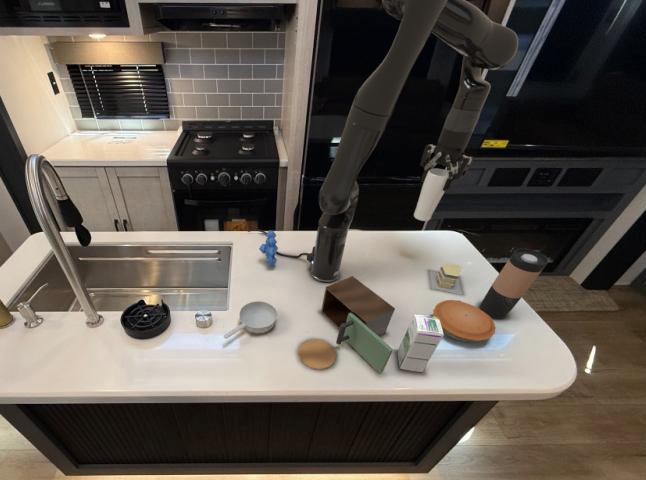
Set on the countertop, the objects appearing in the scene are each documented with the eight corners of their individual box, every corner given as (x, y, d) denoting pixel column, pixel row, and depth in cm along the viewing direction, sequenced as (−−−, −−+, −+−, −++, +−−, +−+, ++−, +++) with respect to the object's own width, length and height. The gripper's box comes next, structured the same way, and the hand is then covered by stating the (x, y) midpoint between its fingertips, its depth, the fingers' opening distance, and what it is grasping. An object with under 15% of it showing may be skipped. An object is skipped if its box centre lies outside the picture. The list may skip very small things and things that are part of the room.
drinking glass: (422, 224, 101) (442, 178, 91) (406, 215, 105) (423, 170, 95) (436, 219, 104) (457, 174, 93) (420, 211, 108) (438, 166, 98)
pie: (480, 358, 82) (489, 346, 79) (420, 328, 90) (427, 316, 86) (495, 326, 90) (504, 314, 87) (440, 301, 98) (446, 289, 95)
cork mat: (291, 349, 84) (291, 348, 84) (319, 335, 88) (319, 334, 88) (313, 375, 78) (314, 374, 78) (343, 359, 82) (343, 358, 82)
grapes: (258, 253, 118) (258, 224, 110) (276, 252, 118) (277, 224, 110) (259, 272, 110) (259, 242, 102) (278, 271, 110) (280, 242, 102)
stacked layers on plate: (461, 294, 101) (469, 281, 97) (431, 288, 103) (438, 275, 99) (457, 276, 108) (465, 263, 104) (429, 271, 110) (435, 258, 106)
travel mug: (507, 308, 96) (548, 253, 82) (506, 323, 91) (549, 268, 78) (479, 299, 99) (514, 245, 85) (476, 313, 94) (513, 258, 81)
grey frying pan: (284, 322, 92) (285, 313, 89) (238, 357, 82) (238, 348, 80) (258, 304, 97) (258, 295, 95) (212, 335, 88) (211, 326, 85)
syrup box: (423, 373, 79) (446, 334, 69) (398, 369, 80) (418, 330, 70) (419, 355, 83) (440, 316, 73) (395, 351, 84) (413, 313, 74)
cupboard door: (330, 342, 85) (336, 319, 79) (344, 335, 87) (351, 312, 81) (368, 380, 76) (378, 358, 70) (383, 372, 78) (393, 349, 72)
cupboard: (320, 312, 95) (325, 286, 88) (345, 300, 99) (352, 275, 92) (358, 348, 85) (367, 322, 78) (384, 333, 88) (395, 308, 82)
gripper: (492, 131, 83) (463, 192, 94) (443, 119, 92) (422, 175, 103) (476, 135, 80) (448, 197, 91) (427, 122, 89) (407, 180, 100)
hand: (434, 186), depth 97 cm, fingers closed on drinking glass, 7 cm apart
